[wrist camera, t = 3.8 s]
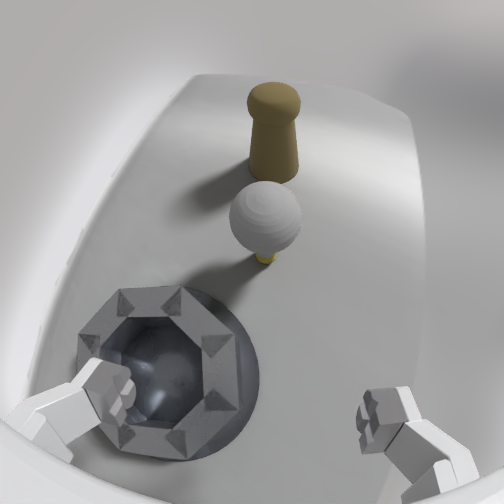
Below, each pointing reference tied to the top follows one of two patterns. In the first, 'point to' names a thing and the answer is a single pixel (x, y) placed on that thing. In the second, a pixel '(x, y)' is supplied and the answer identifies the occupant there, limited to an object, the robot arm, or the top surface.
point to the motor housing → (175, 370)
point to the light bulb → (265, 219)
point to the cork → (273, 132)
